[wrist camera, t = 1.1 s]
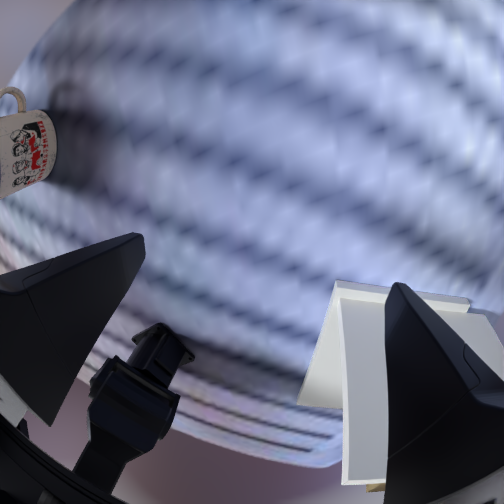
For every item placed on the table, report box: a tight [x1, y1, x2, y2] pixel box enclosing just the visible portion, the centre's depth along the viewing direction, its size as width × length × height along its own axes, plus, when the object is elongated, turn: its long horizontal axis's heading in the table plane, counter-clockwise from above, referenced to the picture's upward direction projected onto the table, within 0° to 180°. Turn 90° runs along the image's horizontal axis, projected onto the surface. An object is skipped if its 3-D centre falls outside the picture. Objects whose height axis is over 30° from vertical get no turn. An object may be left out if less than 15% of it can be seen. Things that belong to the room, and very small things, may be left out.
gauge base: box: [296, 280, 504, 485], centre depth 20 cm, size 18×19×17 cm
